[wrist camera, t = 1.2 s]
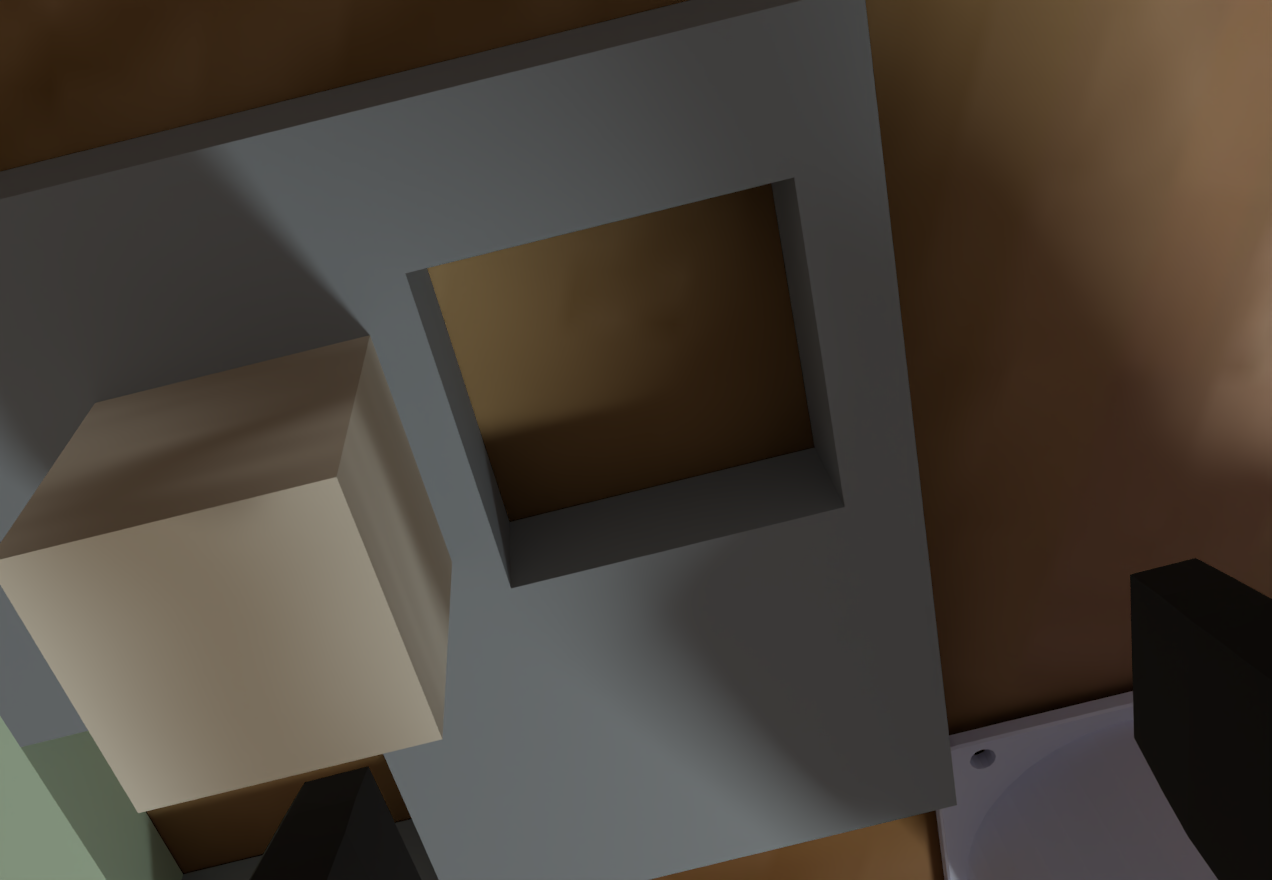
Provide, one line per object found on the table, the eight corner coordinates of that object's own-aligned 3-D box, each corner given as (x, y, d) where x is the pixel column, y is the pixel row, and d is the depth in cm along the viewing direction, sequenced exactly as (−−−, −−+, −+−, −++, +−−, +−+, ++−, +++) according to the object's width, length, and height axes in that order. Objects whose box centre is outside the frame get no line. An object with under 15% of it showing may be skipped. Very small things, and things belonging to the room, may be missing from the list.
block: (370, 334, 16) (335, 477, 13) (452, 562, 18) (442, 739, 15) (95, 402, 16) (-14, 562, 13) (205, 622, 18) (138, 813, 15)
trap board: (824, -33, 17) (898, 1, 14) (922, 732, 24) (986, 867, 21) (-525, 302, 17) (-752, 410, 14) (-20, 961, 24) (-96, 1128, 21)
